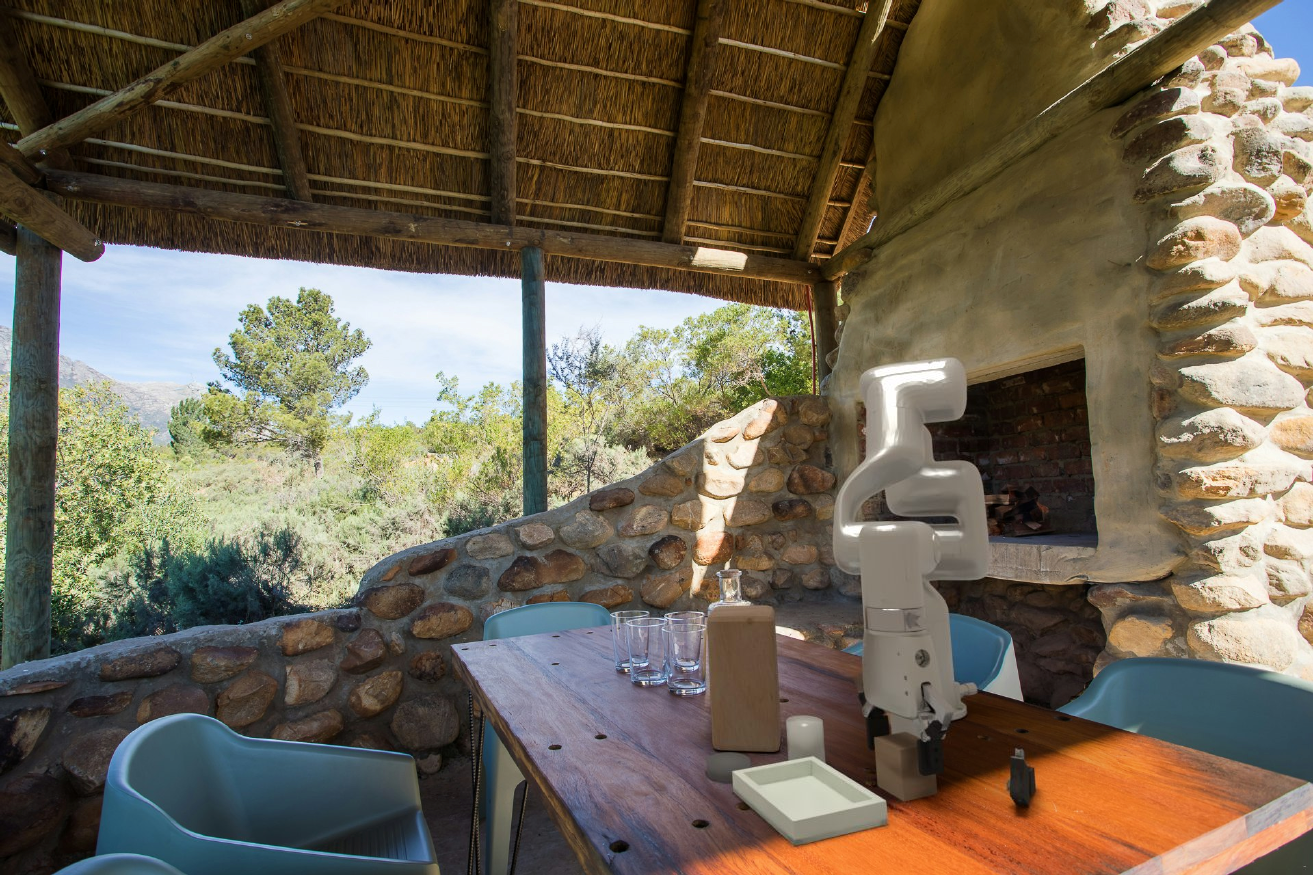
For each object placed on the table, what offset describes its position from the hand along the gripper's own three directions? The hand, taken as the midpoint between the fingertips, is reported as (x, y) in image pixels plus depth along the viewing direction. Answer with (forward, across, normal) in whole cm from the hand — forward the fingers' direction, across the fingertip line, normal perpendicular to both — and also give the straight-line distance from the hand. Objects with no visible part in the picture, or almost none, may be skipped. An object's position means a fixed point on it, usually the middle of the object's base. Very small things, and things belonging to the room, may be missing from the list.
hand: (904, 760), depth 84 cm
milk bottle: (+4, +12, -10) cm, 16 cm away
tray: (+4, +2, +14) cm, 14 cm away
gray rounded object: (+4, +14, +18) cm, 23 cm away
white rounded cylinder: (+4, +12, +6) cm, 15 cm away
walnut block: (+4, 0, 0) cm, 4 cm away
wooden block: (+4, +24, +10) cm, 27 cm away
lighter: (+4, -8, -10) cm, 13 cm away
